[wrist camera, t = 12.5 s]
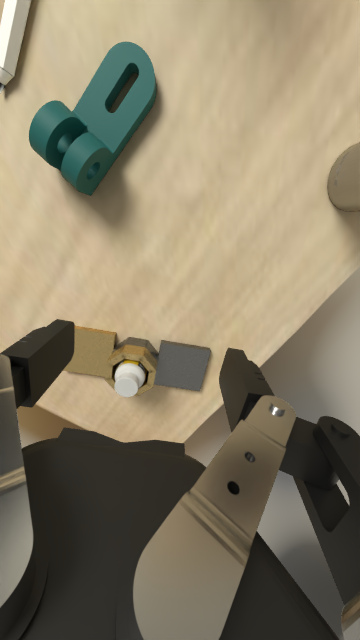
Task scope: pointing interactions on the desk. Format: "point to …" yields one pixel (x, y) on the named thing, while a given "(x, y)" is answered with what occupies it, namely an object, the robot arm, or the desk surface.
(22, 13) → the marker
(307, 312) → the desk surface
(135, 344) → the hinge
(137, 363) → the supplement bottle
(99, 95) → the bracket
